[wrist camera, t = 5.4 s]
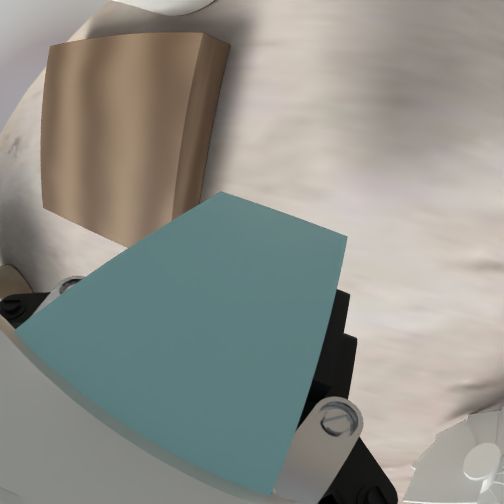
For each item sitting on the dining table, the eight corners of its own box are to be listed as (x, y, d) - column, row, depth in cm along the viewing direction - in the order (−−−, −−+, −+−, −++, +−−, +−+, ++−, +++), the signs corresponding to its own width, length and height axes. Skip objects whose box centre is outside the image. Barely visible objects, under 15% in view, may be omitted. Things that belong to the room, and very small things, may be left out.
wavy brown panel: (230, 44, 17) (203, 32, 13) (193, 243, 25) (167, 265, 21) (81, 47, 20) (50, 46, 16) (70, 195, 28) (43, 207, 24)
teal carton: (347, 236, 10) (265, 504, 3) (305, 334, 13) (220, 526, 5) (221, 191, 11) (8, 334, 4) (204, 291, 14) (73, 439, 6)
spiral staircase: (500, 364, 24) (497, 451, 28) (379, 453, 25) (412, 510, 29) (594, 441, 6) (544, 510, 10) (436, 578, 7) (445, 582, 11)
